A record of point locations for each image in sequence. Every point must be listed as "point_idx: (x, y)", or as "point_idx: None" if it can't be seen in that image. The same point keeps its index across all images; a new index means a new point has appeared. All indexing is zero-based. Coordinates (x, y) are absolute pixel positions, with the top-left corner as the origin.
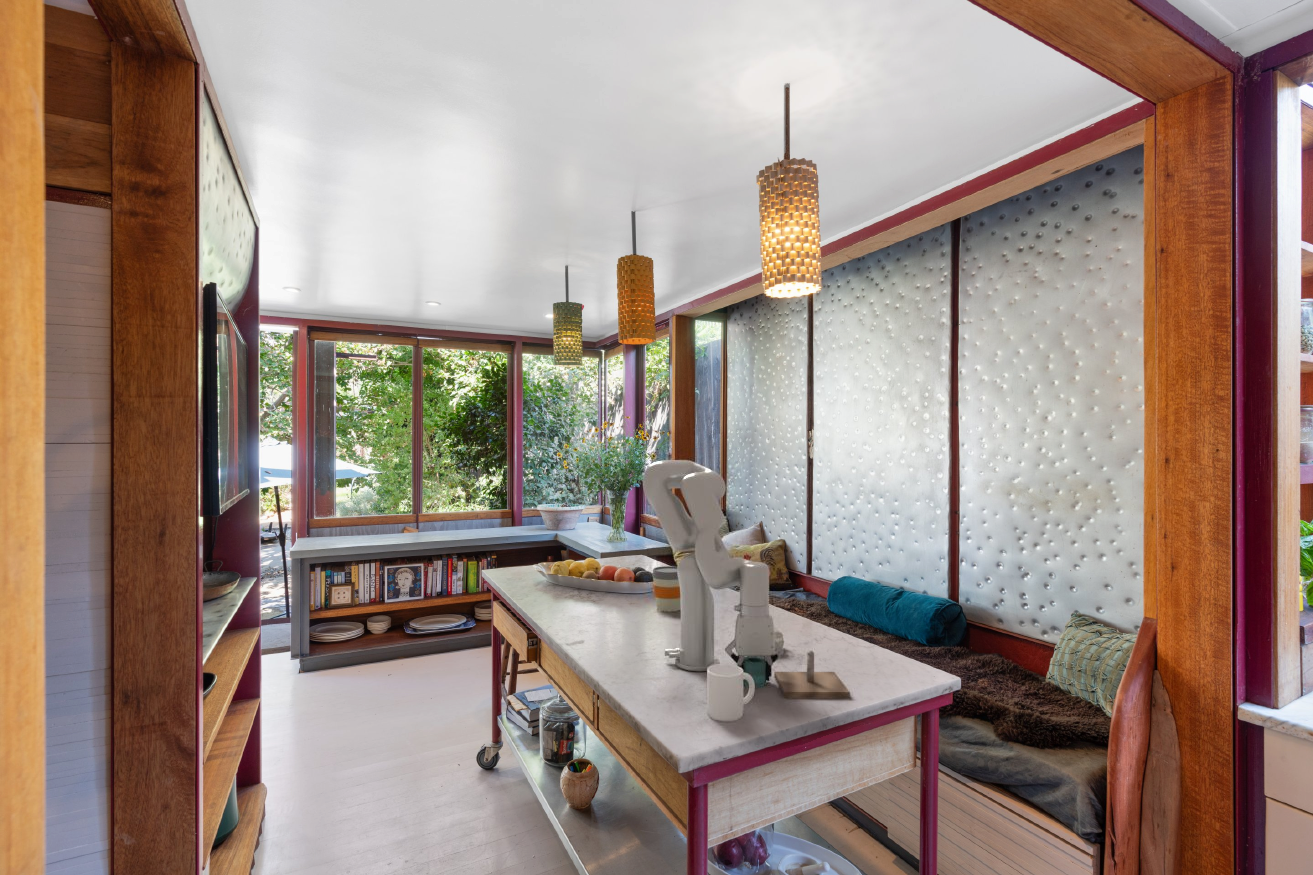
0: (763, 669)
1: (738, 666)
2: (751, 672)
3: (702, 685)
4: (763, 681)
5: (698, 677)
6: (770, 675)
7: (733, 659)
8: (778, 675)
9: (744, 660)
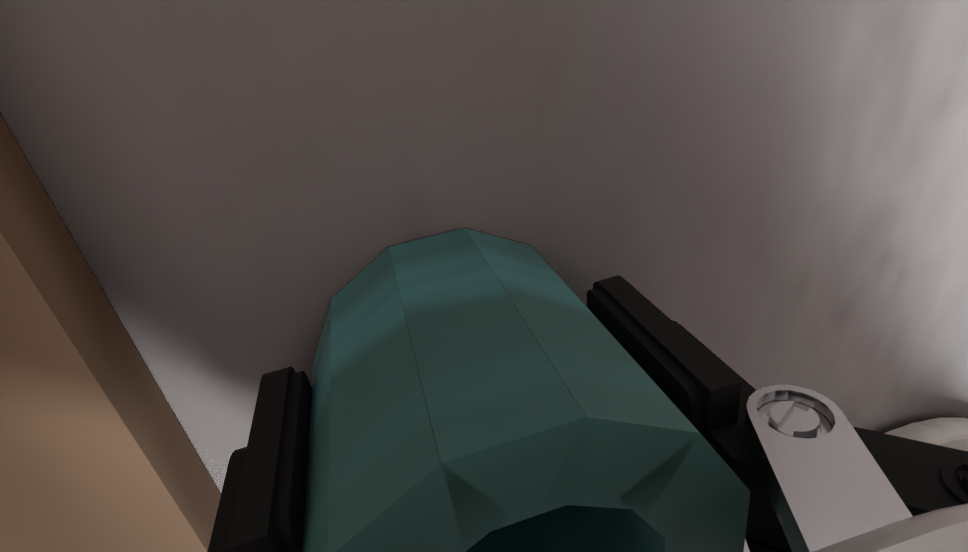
0: (340, 430)
1: (753, 392)
2: (542, 315)
3: (956, 142)
4: (338, 319)
5: (925, 320)
6: (246, 449)
7: (933, 445)
8: (160, 532)
9: (723, 509)
